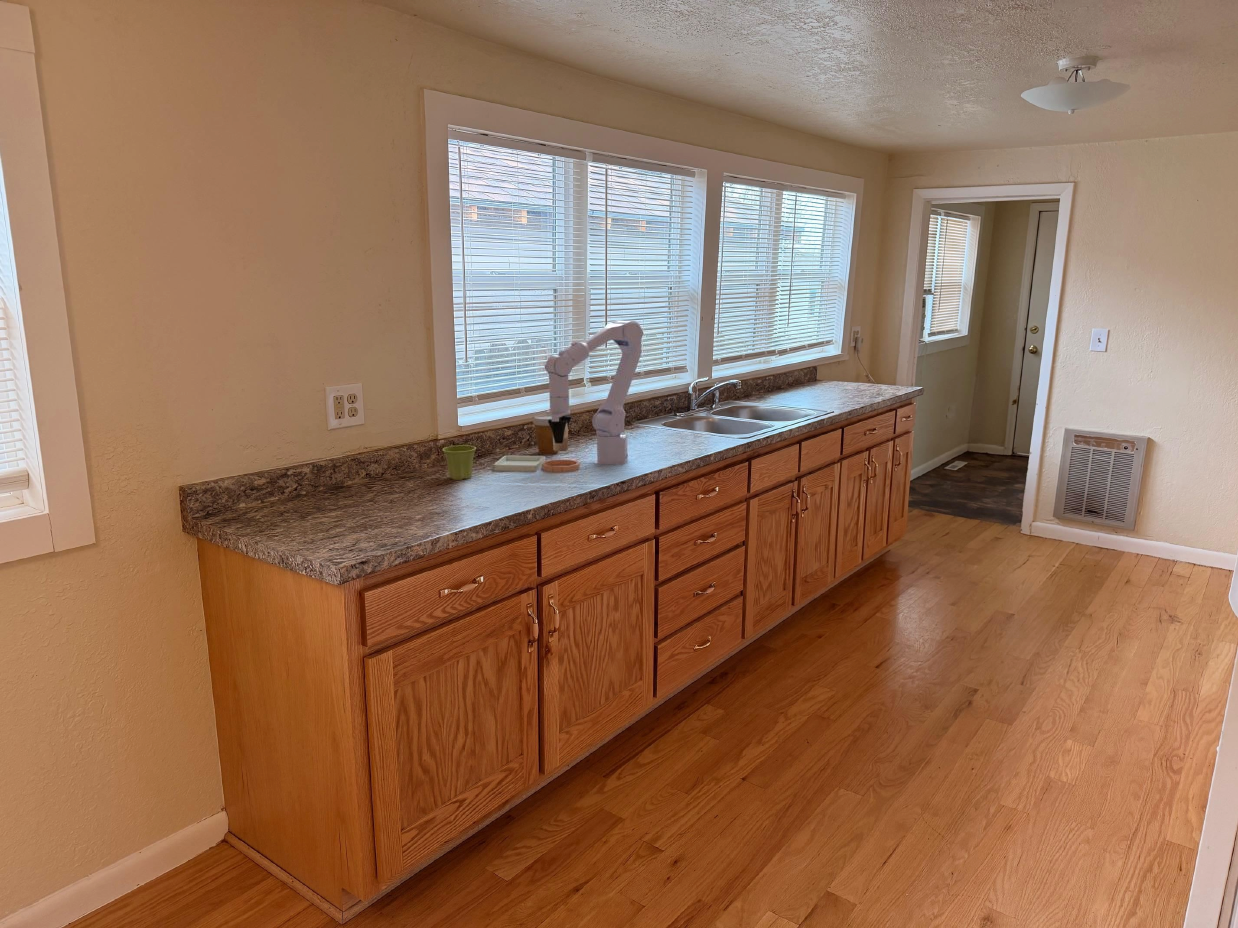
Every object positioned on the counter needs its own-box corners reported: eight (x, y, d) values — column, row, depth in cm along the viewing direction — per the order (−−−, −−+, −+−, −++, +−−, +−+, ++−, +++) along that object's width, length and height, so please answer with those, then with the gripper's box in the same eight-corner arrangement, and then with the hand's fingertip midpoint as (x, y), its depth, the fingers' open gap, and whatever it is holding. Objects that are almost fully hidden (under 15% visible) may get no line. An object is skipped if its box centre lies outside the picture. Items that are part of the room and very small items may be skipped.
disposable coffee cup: (564, 450, 285) (564, 414, 283) (560, 456, 276) (559, 419, 274) (536, 450, 286) (535, 414, 284) (531, 455, 277) (530, 419, 275)
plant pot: (470, 482, 241) (468, 451, 239) (438, 480, 243) (437, 450, 241) (481, 474, 250) (480, 445, 248) (451, 473, 252) (450, 444, 250)
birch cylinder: (569, 448, 257) (568, 422, 255) (566, 451, 252) (565, 424, 251) (554, 448, 257) (554, 422, 255) (552, 451, 253) (551, 424, 251)
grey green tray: (545, 463, 265) (545, 456, 265) (536, 472, 252) (536, 465, 251) (505, 462, 267) (504, 455, 267) (493, 472, 253) (493, 464, 253)
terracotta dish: (582, 466, 261) (582, 459, 260) (576, 473, 250) (575, 467, 250) (546, 465, 262) (546, 459, 262) (539, 473, 251) (539, 466, 251)
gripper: (550, 393, 259) (552, 437, 262) (540, 399, 245) (542, 446, 248) (573, 393, 258) (574, 437, 261) (565, 399, 244) (566, 446, 247)
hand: (560, 441), depth 254 cm, fingers closed on birch cylinder, 4 cm apart
